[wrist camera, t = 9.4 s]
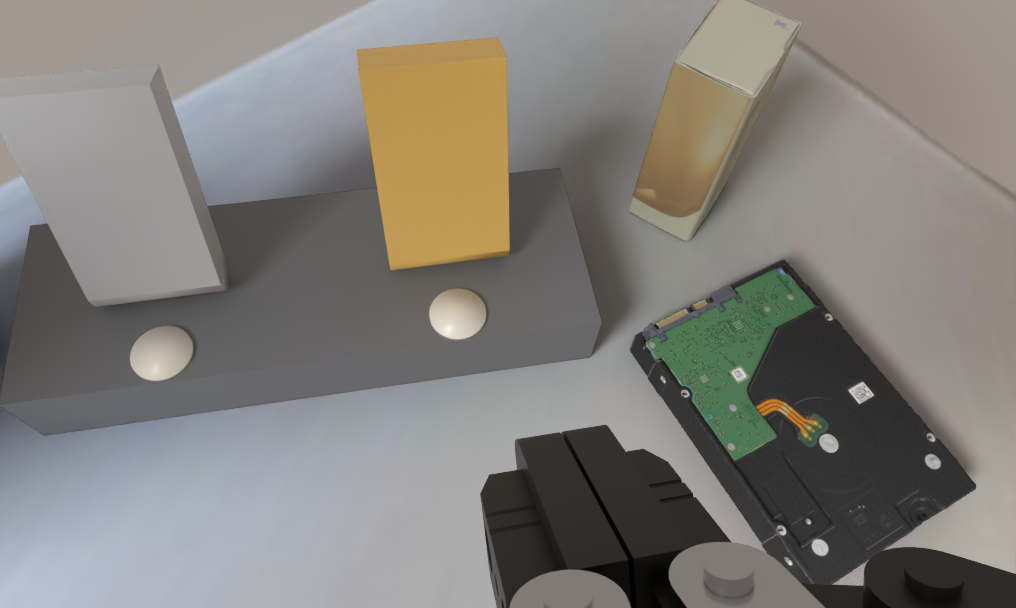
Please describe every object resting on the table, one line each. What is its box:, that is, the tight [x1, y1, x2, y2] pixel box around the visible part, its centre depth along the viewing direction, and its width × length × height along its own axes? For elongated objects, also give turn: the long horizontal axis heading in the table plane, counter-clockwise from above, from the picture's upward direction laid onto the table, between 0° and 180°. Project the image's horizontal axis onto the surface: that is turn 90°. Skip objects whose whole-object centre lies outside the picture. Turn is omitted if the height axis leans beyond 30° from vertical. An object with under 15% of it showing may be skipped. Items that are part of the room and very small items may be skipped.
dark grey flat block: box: [0, 168, 602, 435], centre depth 38 cm, size 28×10×4 cm, turn 100°
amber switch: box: [357, 38, 510, 270], centre depth 34 cm, size 6×2×11 cm, turn 100°
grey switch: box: [0, 65, 229, 307], centre depth 32 cm, size 6×2×11 cm, turn 100°
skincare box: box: [629, 0, 802, 241], centre depth 40 cm, size 6×4×12 cm
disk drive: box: [630, 260, 976, 585], centre depth 37 cm, size 10×3×15 cm
